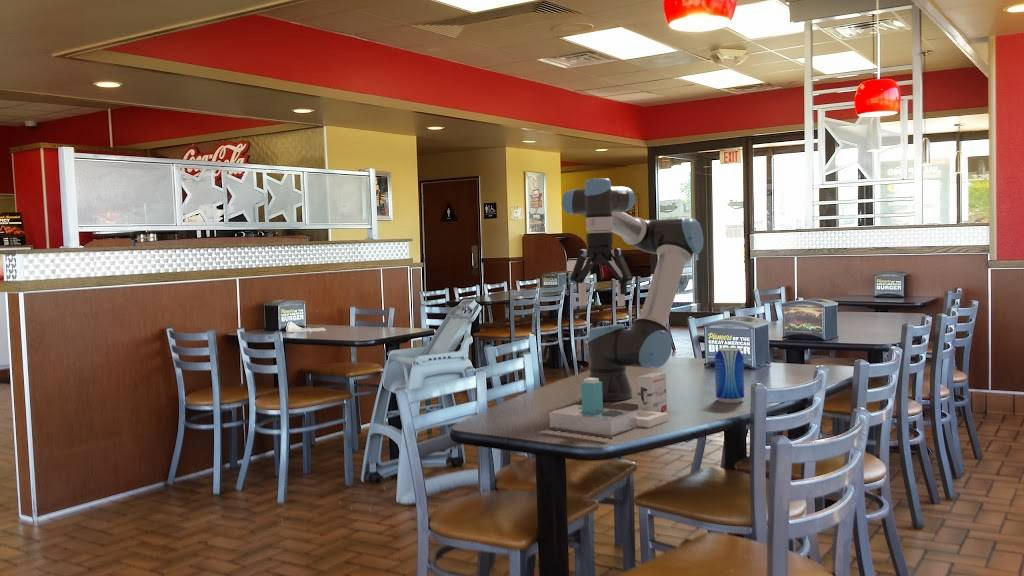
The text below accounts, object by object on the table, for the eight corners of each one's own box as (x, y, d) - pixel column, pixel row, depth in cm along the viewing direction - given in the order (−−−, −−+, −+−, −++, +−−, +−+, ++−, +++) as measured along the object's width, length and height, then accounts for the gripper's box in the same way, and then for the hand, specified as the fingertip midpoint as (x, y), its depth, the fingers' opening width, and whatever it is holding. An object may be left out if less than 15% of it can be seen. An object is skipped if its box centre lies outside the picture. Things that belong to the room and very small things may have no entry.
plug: (582, 427, 233) (580, 379, 232) (591, 424, 236) (589, 377, 235) (594, 429, 230) (593, 380, 229) (603, 426, 233) (601, 378, 232)
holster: (617, 426, 236) (616, 415, 236) (637, 420, 244) (637, 409, 244) (648, 431, 230) (648, 419, 229) (668, 424, 237) (668, 413, 237)
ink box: (652, 411, 255) (651, 371, 254) (667, 413, 252) (666, 372, 251) (637, 417, 248) (636, 376, 247) (652, 418, 245) (651, 377, 244)
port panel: (550, 430, 235) (549, 410, 235) (576, 422, 244) (575, 402, 244) (611, 439, 222) (610, 418, 221) (637, 430, 231) (636, 410, 231)
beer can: (745, 403, 261) (743, 350, 261) (716, 403, 263) (715, 350, 262) (743, 398, 270) (742, 346, 269) (715, 398, 271) (714, 347, 270)
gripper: (557, 233, 257) (559, 305, 258) (628, 230, 241) (630, 307, 242) (572, 233, 263) (574, 303, 264) (643, 230, 246) (645, 305, 247)
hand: (601, 305), depth 253 cm, fingers open, 13 cm apart
